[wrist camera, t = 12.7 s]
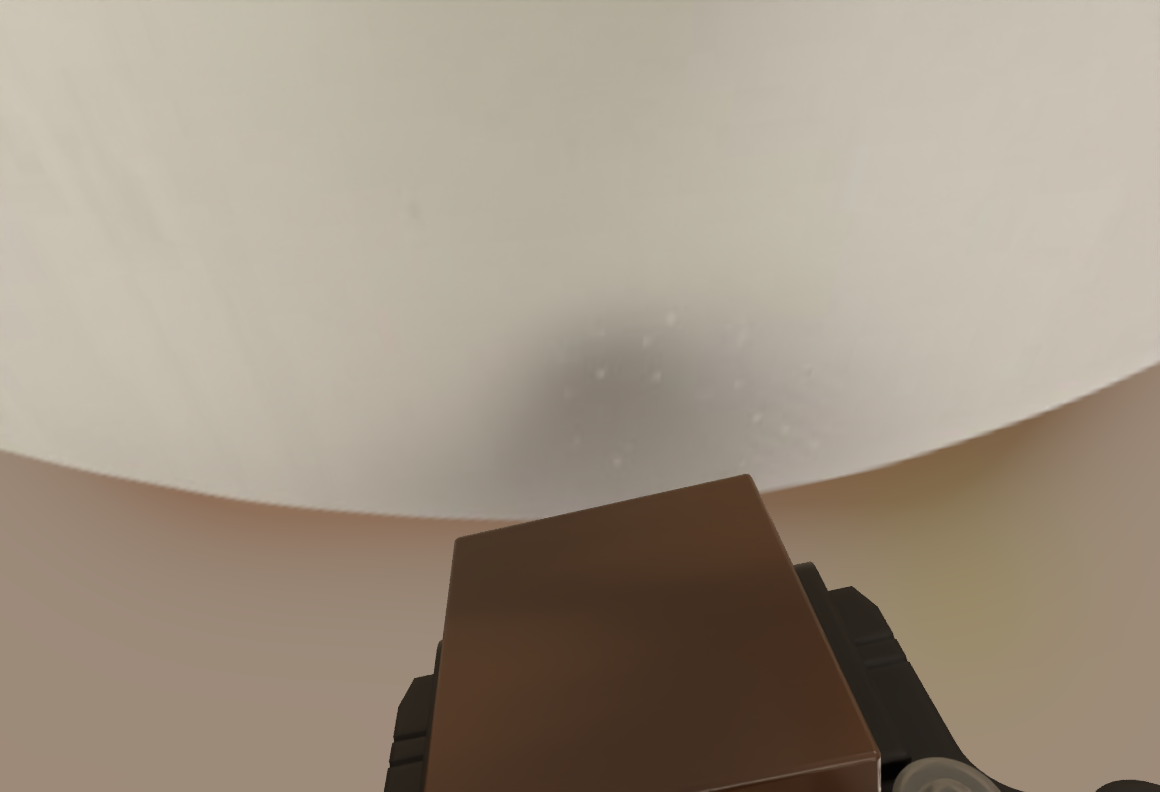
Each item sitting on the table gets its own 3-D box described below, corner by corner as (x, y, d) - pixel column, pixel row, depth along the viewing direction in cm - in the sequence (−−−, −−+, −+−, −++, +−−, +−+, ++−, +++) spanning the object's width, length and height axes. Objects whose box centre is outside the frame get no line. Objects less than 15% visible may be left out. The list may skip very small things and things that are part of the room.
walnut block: (529, 722, 14) (532, 1039, 10) (452, 536, 12) (413, 849, 8) (776, 671, 14) (887, 973, 10) (749, 470, 12) (884, 754, 7)
